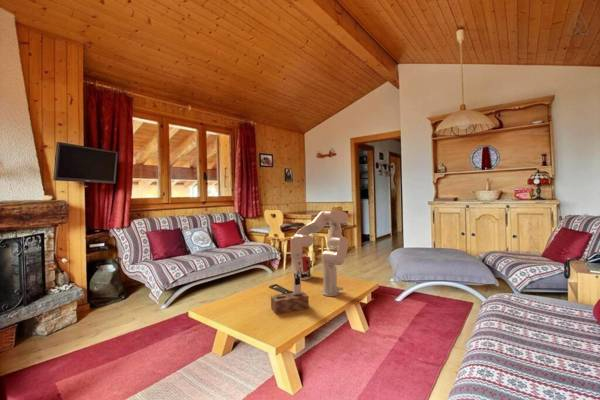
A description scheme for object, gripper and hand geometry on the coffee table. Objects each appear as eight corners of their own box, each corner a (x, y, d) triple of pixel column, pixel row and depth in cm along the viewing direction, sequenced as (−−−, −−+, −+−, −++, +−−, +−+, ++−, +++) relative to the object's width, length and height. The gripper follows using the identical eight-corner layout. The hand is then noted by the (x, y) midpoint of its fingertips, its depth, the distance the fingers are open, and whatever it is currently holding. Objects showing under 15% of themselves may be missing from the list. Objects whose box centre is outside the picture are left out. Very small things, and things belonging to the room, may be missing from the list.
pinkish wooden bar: (300, 293, 197) (299, 275, 197) (301, 294, 195) (300, 275, 195) (293, 294, 196) (293, 275, 195) (294, 295, 194) (294, 276, 193)
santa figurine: (306, 274, 273) (305, 246, 272) (317, 277, 262) (316, 248, 261) (291, 278, 262) (290, 249, 261) (302, 281, 251) (301, 251, 250)
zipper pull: (276, 283, 227) (302, 289, 211) (276, 292, 227) (302, 298, 211) (267, 286, 220) (293, 293, 204) (267, 295, 220) (294, 302, 204)
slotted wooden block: (303, 303, 203) (302, 291, 202) (308, 308, 193) (308, 296, 193) (271, 308, 195) (270, 296, 194) (275, 314, 185) (275, 301, 185)
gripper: (306, 257, 189) (307, 286, 189) (297, 252, 204) (298, 280, 204) (295, 258, 186) (295, 288, 187) (287, 253, 201) (287, 281, 201)
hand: (297, 283), depth 195 cm, fingers closed on pinkish wooden bar, 1 cm apart
